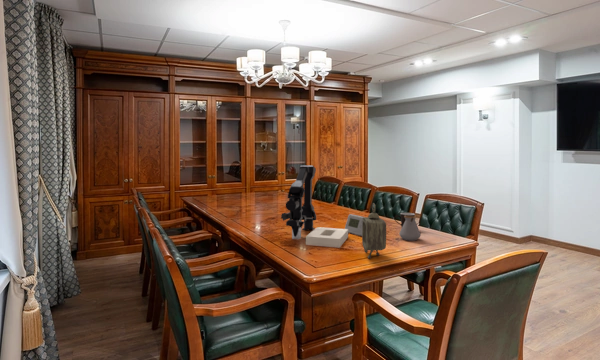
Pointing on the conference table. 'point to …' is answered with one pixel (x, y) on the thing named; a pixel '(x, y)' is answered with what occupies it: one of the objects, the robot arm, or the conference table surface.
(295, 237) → the light grey rectangular block
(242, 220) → the conference table surface
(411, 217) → the coffee pot
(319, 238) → the slot board
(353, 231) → the digital clock
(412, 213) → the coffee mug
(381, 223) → the shaggy robed figurine
